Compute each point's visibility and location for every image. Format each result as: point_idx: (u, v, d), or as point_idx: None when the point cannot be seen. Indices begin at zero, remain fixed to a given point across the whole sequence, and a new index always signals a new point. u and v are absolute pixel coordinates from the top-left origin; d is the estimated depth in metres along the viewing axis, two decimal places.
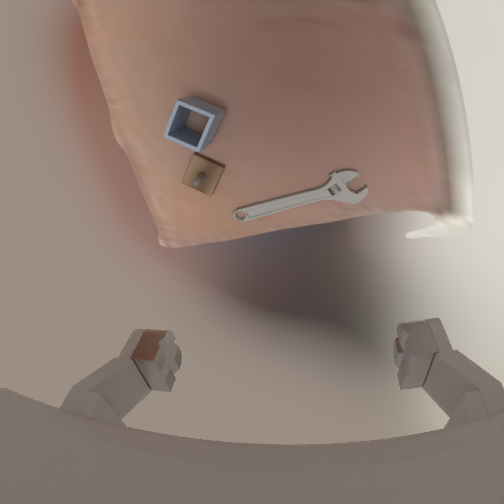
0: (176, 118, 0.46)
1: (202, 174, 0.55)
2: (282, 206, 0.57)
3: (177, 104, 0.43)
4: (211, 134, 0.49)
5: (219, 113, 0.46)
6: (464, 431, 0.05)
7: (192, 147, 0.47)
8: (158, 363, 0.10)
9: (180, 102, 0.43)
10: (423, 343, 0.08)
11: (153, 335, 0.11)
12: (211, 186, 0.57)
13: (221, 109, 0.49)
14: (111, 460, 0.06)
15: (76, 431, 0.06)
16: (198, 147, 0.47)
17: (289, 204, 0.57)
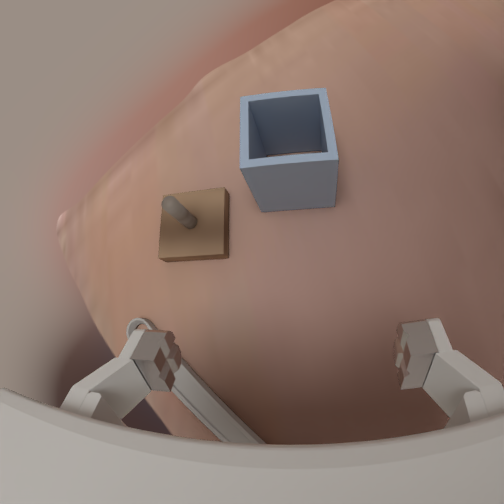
0: (286, 108, 0.23)
1: (193, 219, 0.27)
2: (195, 403, 0.24)
3: (317, 91, 0.21)
4: (283, 191, 0.24)
5: (336, 180, 0.22)
6: (464, 431, 0.05)
7: (244, 151, 0.21)
8: (158, 363, 0.10)
9: (324, 94, 0.21)
10: (423, 343, 0.08)
11: (153, 335, 0.11)
12: (177, 249, 0.27)
13: None
14: (111, 460, 0.06)
15: (76, 431, 0.06)
16: (250, 162, 0.20)
17: (207, 414, 0.24)
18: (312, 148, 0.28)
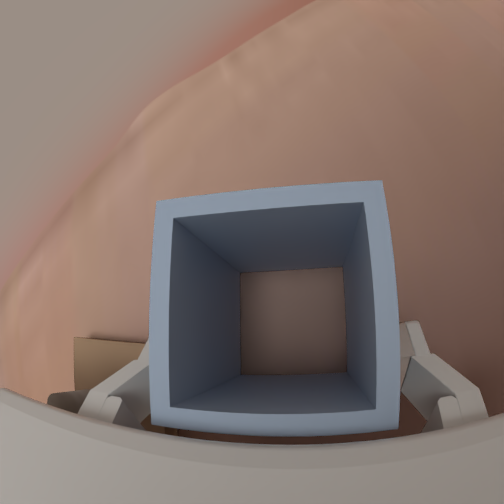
0: (274, 226, 0.10)
1: None
2: None
3: (361, 193, 0.08)
4: None
5: None
6: (464, 431, 0.05)
7: (160, 381, 0.08)
8: None
9: (379, 203, 0.08)
10: None
11: None
12: None
13: None
14: (111, 460, 0.06)
15: (76, 431, 0.06)
16: (174, 414, 0.07)
17: None
18: (326, 265, 0.15)
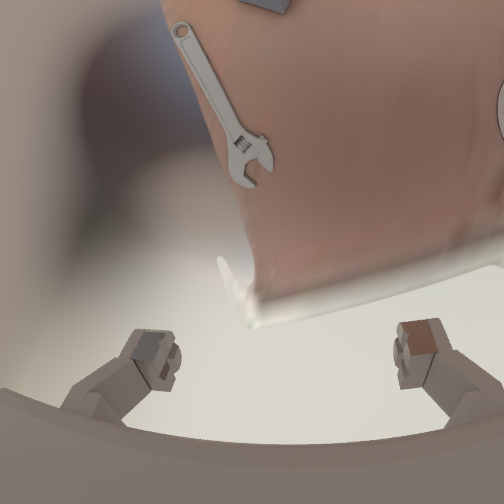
0: None
1: None
2: (204, 81, 0.36)
3: None
4: None
5: (281, 5, 0.26)
6: (464, 431, 0.05)
7: None
8: (158, 363, 0.10)
9: None
10: (423, 343, 0.08)
11: (153, 335, 0.11)
12: None
13: (285, 8, 0.29)
14: (111, 460, 0.06)
15: (76, 431, 0.06)
16: None
17: (209, 89, 0.37)
18: None
